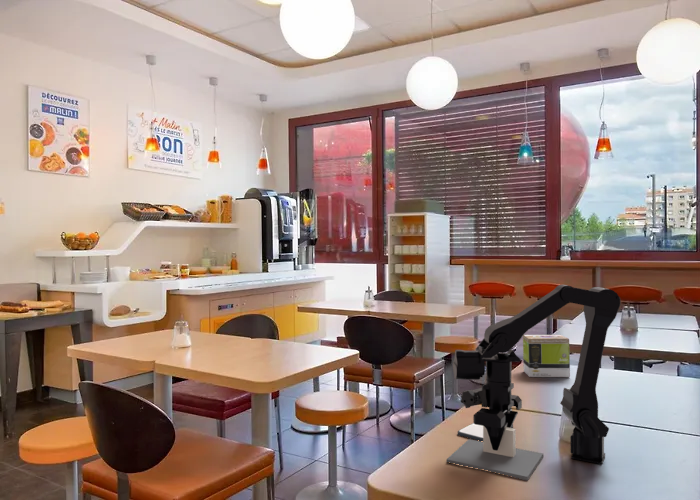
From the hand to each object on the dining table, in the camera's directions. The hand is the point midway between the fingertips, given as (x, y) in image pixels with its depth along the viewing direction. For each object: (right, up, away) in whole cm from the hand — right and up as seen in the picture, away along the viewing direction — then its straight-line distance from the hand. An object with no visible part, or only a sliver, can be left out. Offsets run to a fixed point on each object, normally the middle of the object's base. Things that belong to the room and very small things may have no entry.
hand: (498, 446), depth 127 cm
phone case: (+1, -3, +17) cm, 18 cm away
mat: (-1, -2, -2) cm, 3 cm away
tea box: (+40, -2, +80) cm, 89 cm away
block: (0, -2, 0) cm, 2 cm away
